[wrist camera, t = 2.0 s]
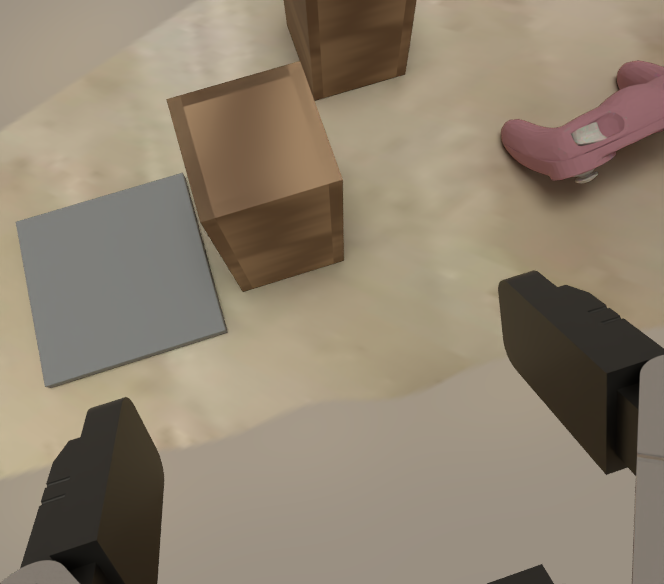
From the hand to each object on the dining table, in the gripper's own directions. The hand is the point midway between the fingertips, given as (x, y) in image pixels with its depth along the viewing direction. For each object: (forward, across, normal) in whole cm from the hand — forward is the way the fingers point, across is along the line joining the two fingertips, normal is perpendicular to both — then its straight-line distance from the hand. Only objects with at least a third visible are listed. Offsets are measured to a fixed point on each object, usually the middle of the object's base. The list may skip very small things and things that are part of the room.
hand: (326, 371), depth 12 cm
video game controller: (+22, -20, +6) cm, 30 cm away
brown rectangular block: (+22, 0, +5) cm, 23 cm away
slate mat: (+22, +9, +5) cm, 24 cm away
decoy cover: (+29, -8, -2) cm, 30 cm away
